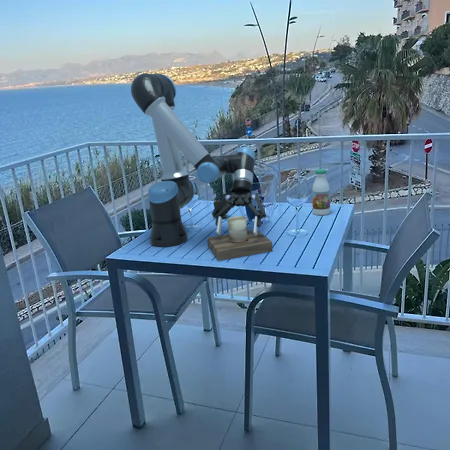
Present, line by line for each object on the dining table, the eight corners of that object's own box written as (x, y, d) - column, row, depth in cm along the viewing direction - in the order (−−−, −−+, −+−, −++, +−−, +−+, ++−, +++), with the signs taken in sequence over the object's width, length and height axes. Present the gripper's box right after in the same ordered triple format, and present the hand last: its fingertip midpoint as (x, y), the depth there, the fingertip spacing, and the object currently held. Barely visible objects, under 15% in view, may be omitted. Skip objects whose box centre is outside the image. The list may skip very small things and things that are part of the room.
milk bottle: (310, 212, 188) (309, 169, 182) (325, 210, 189) (325, 167, 183) (316, 216, 181) (315, 172, 175) (332, 214, 182) (332, 170, 176)
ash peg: (227, 246, 153) (225, 217, 150) (244, 243, 155) (242, 215, 151) (232, 252, 147) (230, 222, 143) (250, 249, 148) (248, 219, 145)
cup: (228, 220, 187) (227, 203, 184) (213, 220, 188) (211, 203, 186) (231, 215, 194) (230, 198, 191) (216, 215, 195) (215, 199, 193)
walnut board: (208, 246, 156) (207, 237, 155) (257, 237, 161) (256, 229, 160) (218, 260, 141) (217, 251, 140) (272, 251, 146) (272, 241, 145)
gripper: (276, 188, 156) (272, 238, 147) (213, 189, 163) (206, 238, 153) (273, 177, 150) (269, 229, 140) (208, 179, 156) (200, 229, 147)
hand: (236, 234), depth 147 cm, fingers open, 13 cm apart
